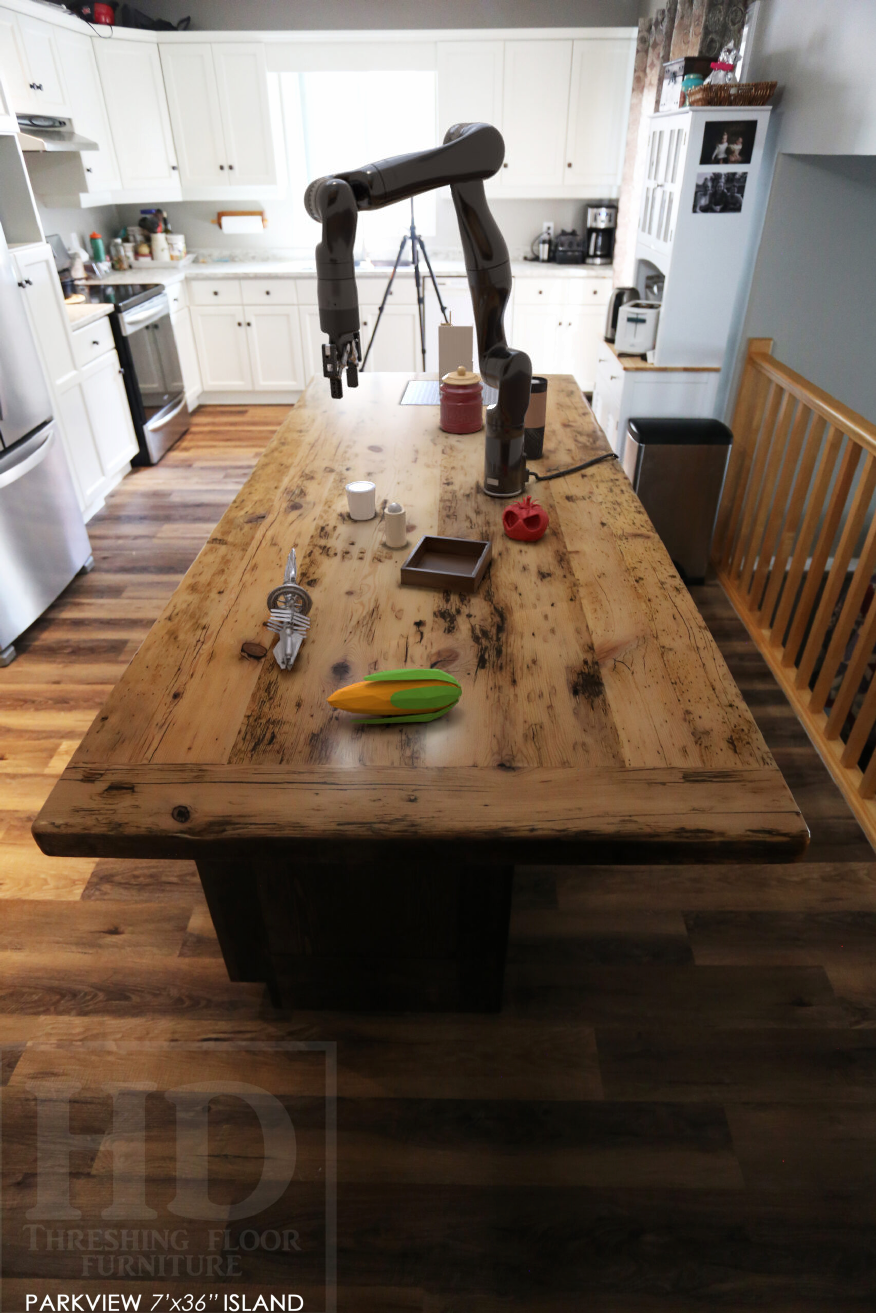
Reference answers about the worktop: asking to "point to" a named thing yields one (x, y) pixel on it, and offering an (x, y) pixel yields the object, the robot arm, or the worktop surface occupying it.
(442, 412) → the kitchen canister
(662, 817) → the worktop surface
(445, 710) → the corn
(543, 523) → the pomegranate
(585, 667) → the worktop surface
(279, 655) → the spaceship
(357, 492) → the beige white cylinder
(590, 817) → the worktop surface
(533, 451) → the travel mug
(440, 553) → the tray
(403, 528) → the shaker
